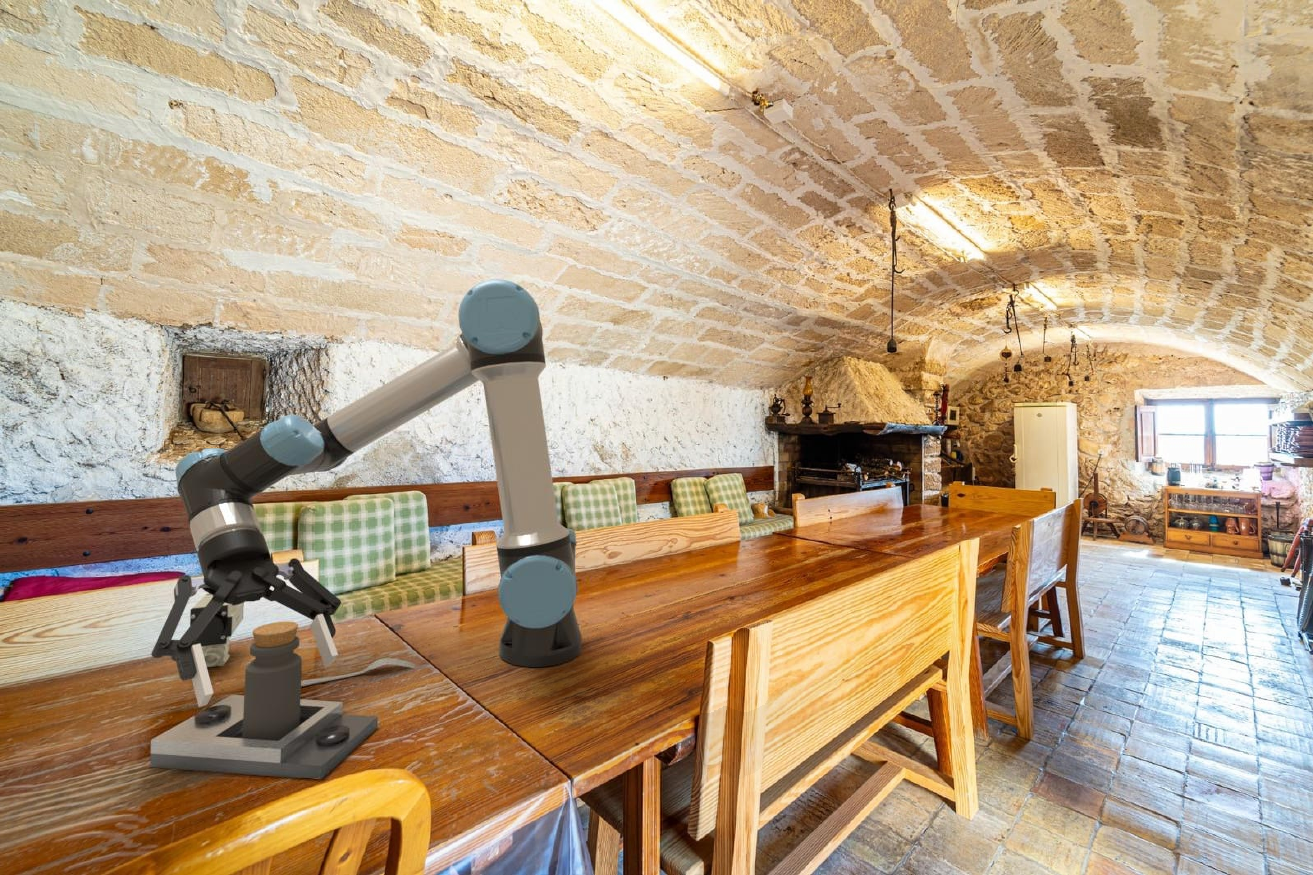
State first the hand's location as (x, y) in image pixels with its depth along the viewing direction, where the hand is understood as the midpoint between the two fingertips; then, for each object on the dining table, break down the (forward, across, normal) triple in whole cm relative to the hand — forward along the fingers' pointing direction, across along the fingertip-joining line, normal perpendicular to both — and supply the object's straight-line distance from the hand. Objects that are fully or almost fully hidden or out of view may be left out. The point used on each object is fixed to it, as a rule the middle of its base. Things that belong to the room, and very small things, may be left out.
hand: (274, 679), depth 67 cm
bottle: (+6, 0, -7) cm, 9 cm away
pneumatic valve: (-18, -5, -31) cm, 36 cm away
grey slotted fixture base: (+6, 0, -7) cm, 9 cm away
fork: (-2, -16, -15) cm, 22 cm away
